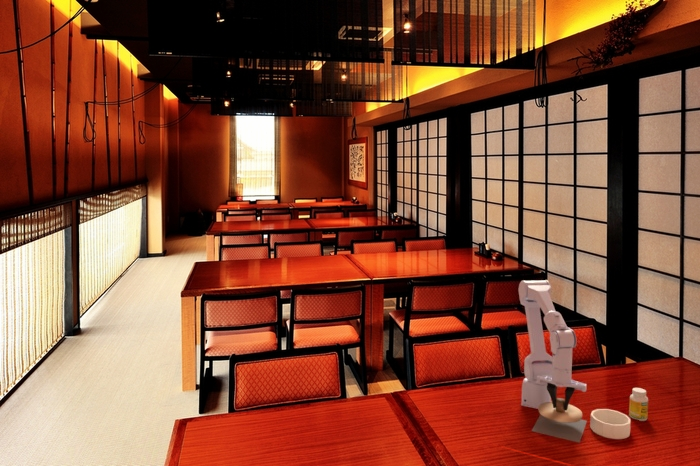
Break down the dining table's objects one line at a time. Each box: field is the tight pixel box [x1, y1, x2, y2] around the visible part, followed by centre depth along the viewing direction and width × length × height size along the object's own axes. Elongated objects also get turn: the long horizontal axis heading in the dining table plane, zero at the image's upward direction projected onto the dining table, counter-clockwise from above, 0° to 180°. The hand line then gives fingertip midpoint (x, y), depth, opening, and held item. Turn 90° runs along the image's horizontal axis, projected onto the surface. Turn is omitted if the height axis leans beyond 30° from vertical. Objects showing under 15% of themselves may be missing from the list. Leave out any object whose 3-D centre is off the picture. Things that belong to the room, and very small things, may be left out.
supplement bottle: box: [628, 387, 649, 422], centre depth 172 cm, size 5×5×10 cm
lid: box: [538, 397, 583, 423], centre depth 166 cm, size 13×13×4 cm
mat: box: [531, 413, 588, 444], centre depth 166 cm, size 14×16×1 cm
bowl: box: [589, 408, 632, 440], centre depth 163 cm, size 11×11×5 cm
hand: (560, 407), depth 166 cm, fingers closed on lid, 3 cm apart
